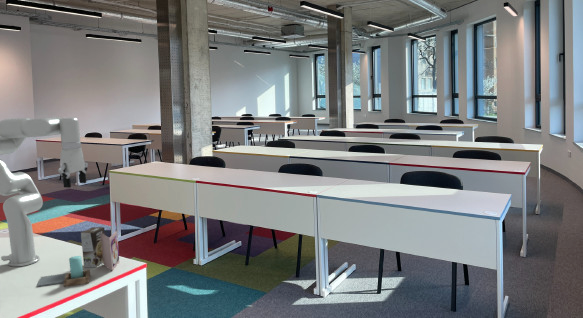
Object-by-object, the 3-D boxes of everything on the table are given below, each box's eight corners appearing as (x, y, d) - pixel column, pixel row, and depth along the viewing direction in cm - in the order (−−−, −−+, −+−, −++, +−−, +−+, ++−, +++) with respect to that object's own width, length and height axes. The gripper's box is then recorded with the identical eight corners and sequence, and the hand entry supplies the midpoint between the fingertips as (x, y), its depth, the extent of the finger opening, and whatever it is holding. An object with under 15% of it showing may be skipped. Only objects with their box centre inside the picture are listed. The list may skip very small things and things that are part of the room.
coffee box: (96, 267, 212) (92, 232, 209) (83, 267, 213) (79, 232, 211) (108, 260, 220) (104, 226, 218) (95, 260, 222) (92, 226, 219)
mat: (37, 287, 192) (37, 285, 192) (41, 278, 202) (41, 276, 201) (64, 283, 195) (64, 281, 195) (67, 274, 205) (67, 273, 205)
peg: (71, 284, 194) (68, 260, 193) (72, 280, 198) (69, 256, 197) (83, 282, 196) (80, 258, 194) (84, 278, 200) (81, 255, 198)
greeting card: (114, 271, 207) (111, 237, 205) (96, 272, 206) (93, 238, 204) (121, 261, 218) (118, 230, 216) (104, 263, 217) (101, 231, 215)
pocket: (64, 286, 191) (63, 280, 191) (67, 278, 200) (66, 273, 199) (88, 283, 194) (88, 277, 194) (90, 275, 203) (89, 269, 202)
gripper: (77, 144, 215) (81, 181, 218) (49, 148, 199) (53, 189, 201) (92, 143, 213) (95, 181, 216) (64, 148, 197) (68, 189, 199)
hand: (75, 185), depth 208 cm, fingers open, 9 cm apart
